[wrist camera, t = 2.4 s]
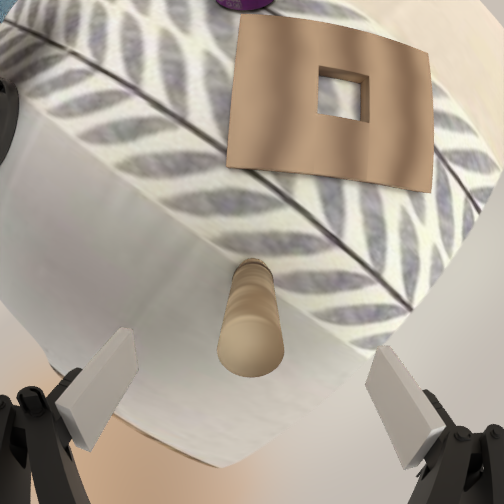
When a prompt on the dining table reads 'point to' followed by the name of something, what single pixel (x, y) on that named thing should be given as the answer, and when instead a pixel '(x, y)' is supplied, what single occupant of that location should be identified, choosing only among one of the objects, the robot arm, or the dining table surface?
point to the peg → (251, 323)
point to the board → (325, 126)
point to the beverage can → (244, 4)
